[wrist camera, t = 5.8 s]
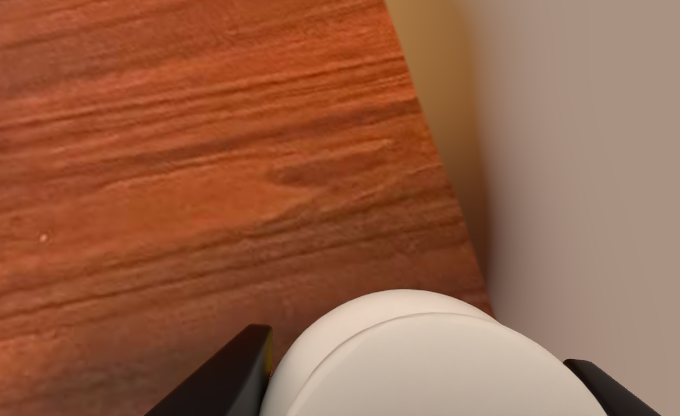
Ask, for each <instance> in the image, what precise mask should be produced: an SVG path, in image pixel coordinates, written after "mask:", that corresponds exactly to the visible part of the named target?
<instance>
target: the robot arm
mask: <svg viewBox="0 0 680 416" xmlns="http://www.w3.org/2000/svg"><path fill="white" fill-rule="evenodd" d="M272 343H273V331H272V328H271V326H269V325H262V324H250V325H248V326H247V327H246V328H244V329H243V330H242V331H241V332H240V333H239V334H237V335H236V336H235V337H234V338H233V339H232V340H231V341H229V342H228V343H227V344H226V345H225V346H224V347H222V348H221V349H220V350H219V351H218V352H217V353H216V354H214V355H213V356H212V357H211V358H210V359H209V360H207V361H206V362H205V363H204V364H203V365H202V366H201V367H199V368H198V369H197V370H196V371H195V372H194V373H192V374H191V375H190V376H189V377H188V378H187V379H186V380H184V381H183V382H182V383H181V384H180V385H179V386H177V387H176V388H175V389H174V390H173V391H172V392H171V393H169V394H168V395H167V396H166V397H165V398H164V399H162V400H161V401H160V402H159V403H158V404H157V405H156V406H154V407H153V408H152V409H151V410H150V411H149V412H147V413H146V414H145V415H144V416H259V412H260V408H261V404H262V401H263V398H264V395H265V392H266V390H267V386H268V382H269V377H270V372H271V367H272ZM563 364H564V365H565V366H566V367H567V368H568V369H570V370H571V371H572V372H573V373H574V374H575V375H576V376H577V377H578V378H579V379H580V380H581V381H582V383H583V384H584V385H585V386H586V387H587V389H588V390H589V391H590V392H591V393H592V395H593V396H594V397H595V398H596V400H597V401H598V403H599V404H600V405H601V407H602V408H603V410H604V411H605V413H606V414H607V416H661V415H660V414H658V413H657V412H656V411H654V410H653V409H652V408H650V407H649V406H648V405H647V404H645V403H644V402H643V401H641V400H640V399H639V398H637V397H636V396H635V395H633V394H632V393H631V392H630V391H628V390H627V389H626V388H625V387H623V386H622V385H621V384H619V383H618V382H617V381H615V380H614V379H613V378H612V377H610V376H609V375H607V374H606V373H605V372H604V371H602V370H601V369H600V368H598V367H597V366H596V365H595V364H593V363H592V362H589V361H585V360H576V359H566V360H565V361H564V362H563Z"/></svg>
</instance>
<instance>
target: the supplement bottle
mask: <svg viewBox="0 0 680 416" xmlns="http://www.w3.org/2000/svg"><path fill="white" fill-rule="evenodd" d="M259 416H607V414H606V413H605V411H604V410H603V408H602V407H601V405H600V404H599V403H598V401H597V400H596V398H595V397H594V396H593V395H592V393H591V392H590V391H589V390H588V389H587V387H586V386H585V385H584V384H583V383H582V381H581V380H580V379H579V378H578V377H577V376H576V375H575V374H574V373H573V372H572V371H571V370H570V369H568V368H567V367H566V366H565V365H564V364H563V363H561V362H560V361H559V360H558V359H557V358H555V357H554V356H553V355H552V354H551V353H550V352H548V351H547V350H545V349H544V348H543V347H541V346H540V345H539V344H537V343H536V342H534V341H532V340H530V339H529V338H527V337H525V336H524V335H522V334H520V333H518V332H516V331H514V330H512V329H510V328H508V327H506V326H503V325H501V324H500V323H498V322H497V321H496V320H494V319H493V318H492V317H490V316H489V315H487V314H485V313H484V312H482V311H481V310H479V309H477V308H476V307H474V306H472V305H470V304H467V303H465V302H463V301H460V300H458V299H455V298H453V297H450V296H446V295H442V294H438V293H434V292H429V291H422V290H409V289H398V290H387V291H382V292H376V293H372V294H368V295H364V296H361V297H359V298H356V299H354V300H351V301H349V302H346V303H345V304H343V305H341V306H339V307H337V308H335V309H334V310H332V311H330V312H329V313H327V314H326V315H324V316H322V317H321V318H320V319H318V320H317V321H316V322H314V323H313V324H312V325H311V326H310V327H309V328H307V329H306V330H305V331H304V332H303V333H302V334H301V335H300V336H299V337H298V338H297V340H296V341H295V342H294V343H293V345H292V346H291V347H290V348H289V350H288V351H287V353H286V354H285V355H284V357H283V358H282V360H281V362H280V363H279V365H278V367H277V368H276V370H275V372H274V374H273V376H272V378H271V380H270V382H269V385H268V387H267V390H266V392H265V395H264V398H263V401H262V404H261V408H260V412H259Z"/></svg>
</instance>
